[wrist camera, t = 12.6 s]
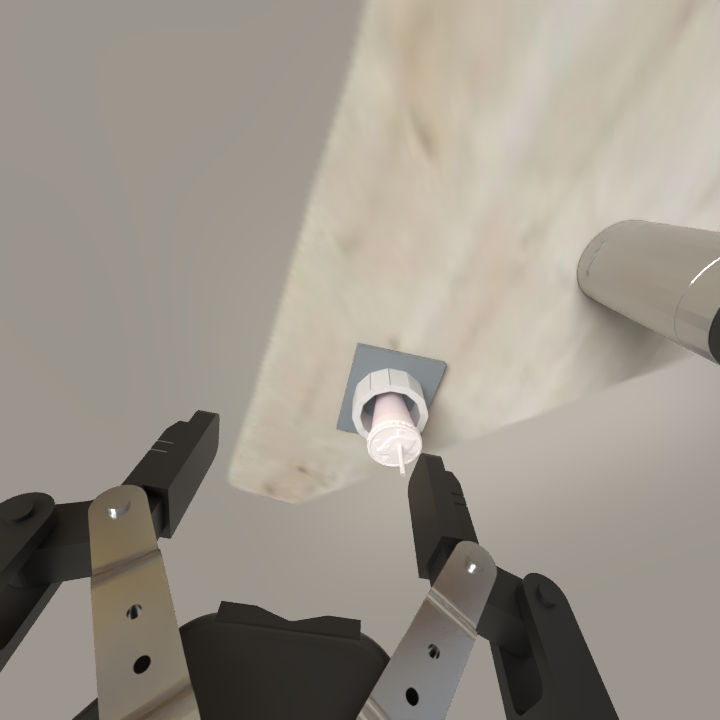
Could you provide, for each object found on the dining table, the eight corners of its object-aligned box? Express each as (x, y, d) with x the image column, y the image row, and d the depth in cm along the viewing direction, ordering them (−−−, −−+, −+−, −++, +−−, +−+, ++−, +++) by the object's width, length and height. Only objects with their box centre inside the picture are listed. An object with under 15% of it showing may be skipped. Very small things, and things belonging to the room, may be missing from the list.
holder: (444, 361, 45) (453, 381, 41) (413, 439, 52) (418, 463, 47) (357, 342, 44) (356, 360, 40) (337, 424, 51) (334, 448, 46)
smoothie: (418, 408, 48) (437, 487, 36) (377, 423, 49) (381, 504, 37) (402, 372, 45) (417, 444, 33) (358, 389, 46) (357, 464, 34)
